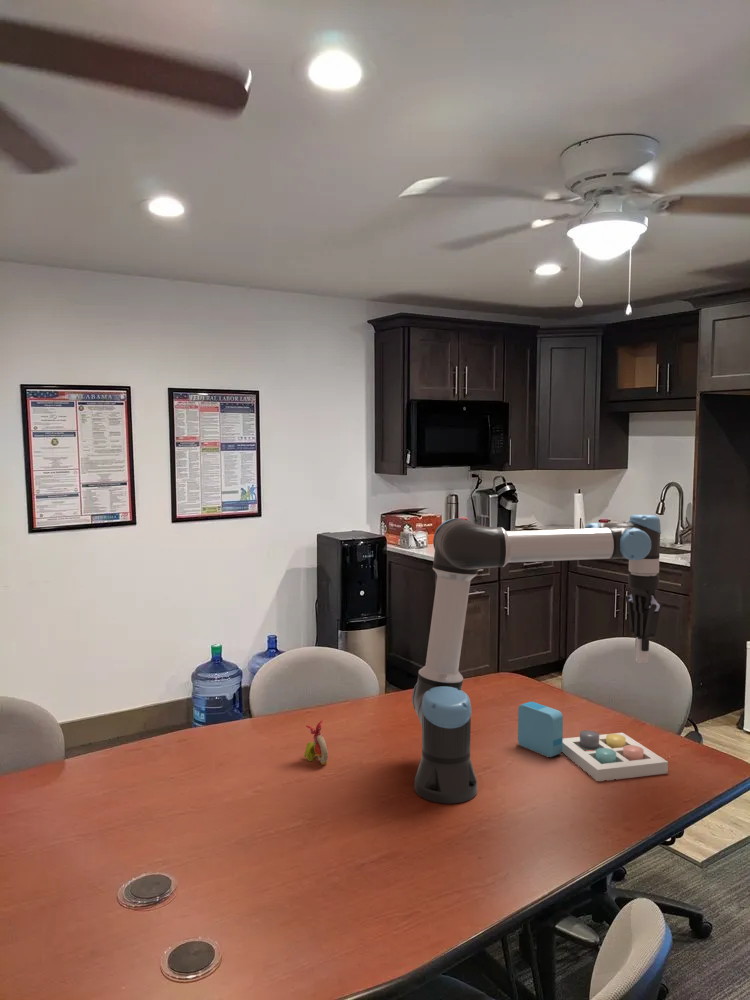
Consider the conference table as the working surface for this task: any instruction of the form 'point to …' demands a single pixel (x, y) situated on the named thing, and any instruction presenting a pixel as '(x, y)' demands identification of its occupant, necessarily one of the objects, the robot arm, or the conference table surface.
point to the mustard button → (615, 740)
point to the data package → (540, 728)
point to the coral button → (633, 752)
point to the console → (621, 767)
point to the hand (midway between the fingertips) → (641, 661)
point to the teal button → (605, 755)
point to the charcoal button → (589, 739)
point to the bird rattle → (317, 746)
